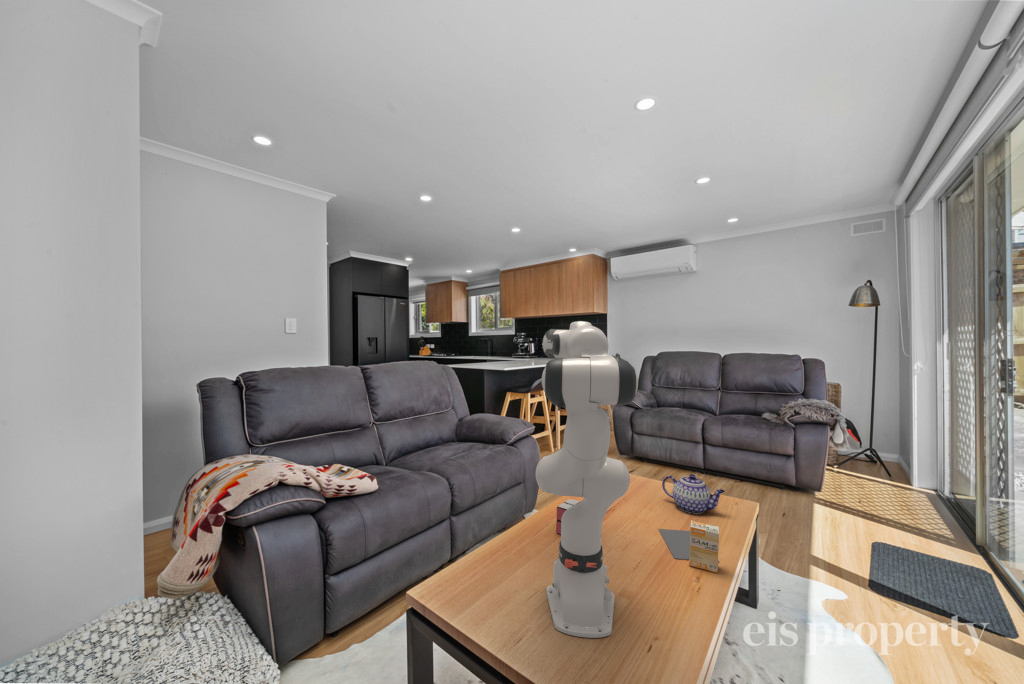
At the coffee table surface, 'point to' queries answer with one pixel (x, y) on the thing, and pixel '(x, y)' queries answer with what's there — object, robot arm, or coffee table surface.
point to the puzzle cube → (561, 510)
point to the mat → (677, 542)
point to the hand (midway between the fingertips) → (578, 405)
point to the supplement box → (704, 546)
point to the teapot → (692, 494)
